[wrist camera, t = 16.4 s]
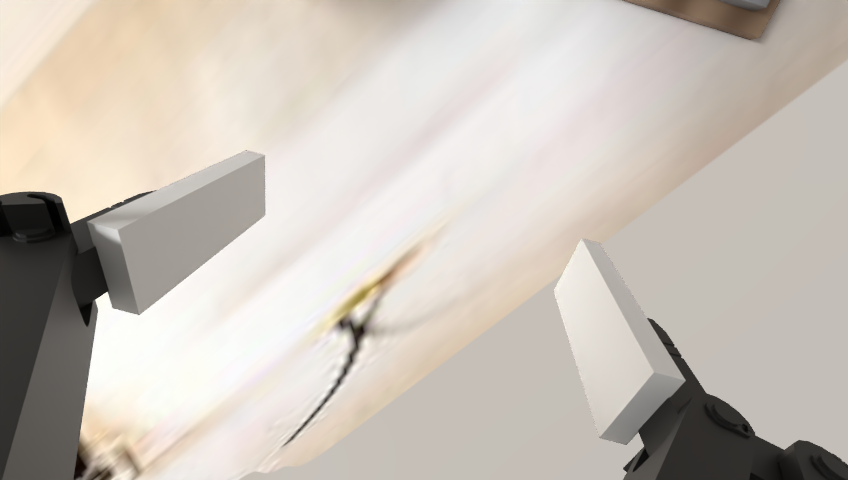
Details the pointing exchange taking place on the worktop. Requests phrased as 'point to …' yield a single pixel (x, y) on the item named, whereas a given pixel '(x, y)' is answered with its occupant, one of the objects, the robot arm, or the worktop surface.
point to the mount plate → (719, 13)
